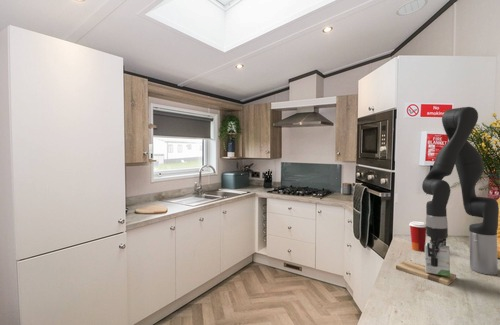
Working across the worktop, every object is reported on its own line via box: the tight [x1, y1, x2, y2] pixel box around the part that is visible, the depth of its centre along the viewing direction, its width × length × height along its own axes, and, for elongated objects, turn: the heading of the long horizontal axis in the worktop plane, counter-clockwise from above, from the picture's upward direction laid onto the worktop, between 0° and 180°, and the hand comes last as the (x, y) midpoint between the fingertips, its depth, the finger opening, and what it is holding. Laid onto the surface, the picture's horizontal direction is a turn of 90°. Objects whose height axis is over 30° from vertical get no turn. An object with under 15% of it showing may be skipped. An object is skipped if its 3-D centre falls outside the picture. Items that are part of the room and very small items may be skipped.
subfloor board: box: [395, 259, 457, 287], centre depth 114 cm, size 10×20×2 cm, turn 35°
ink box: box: [424, 242, 451, 277], centre depth 110 cm, size 9×5×12 cm, turn 53°
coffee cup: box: [408, 220, 427, 252], centre depth 142 cm, size 8×8×15 cm
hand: (437, 263), depth 110 cm, fingers closed on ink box, 6 cm apart
